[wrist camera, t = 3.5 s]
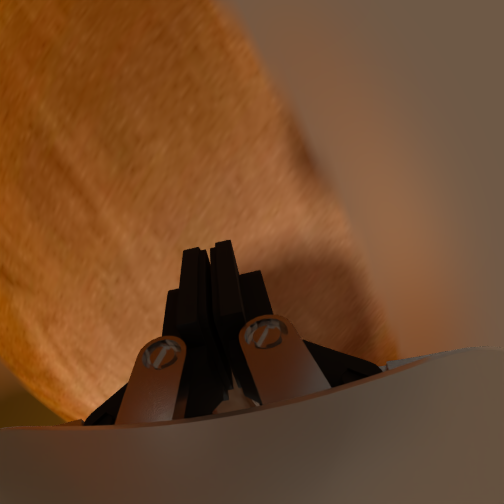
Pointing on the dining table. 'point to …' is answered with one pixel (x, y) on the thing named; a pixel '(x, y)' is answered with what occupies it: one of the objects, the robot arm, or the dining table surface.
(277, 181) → the dining table surface
